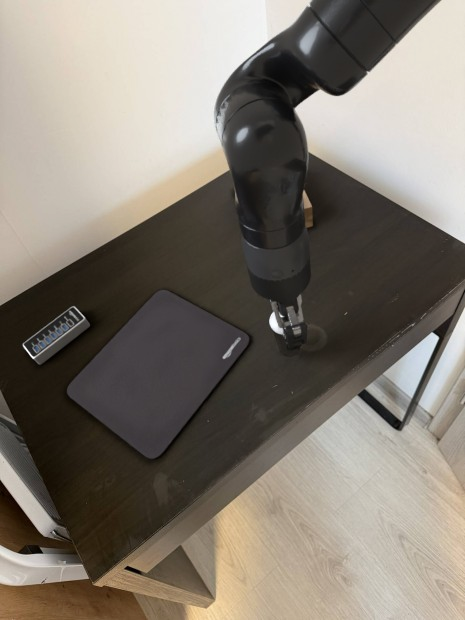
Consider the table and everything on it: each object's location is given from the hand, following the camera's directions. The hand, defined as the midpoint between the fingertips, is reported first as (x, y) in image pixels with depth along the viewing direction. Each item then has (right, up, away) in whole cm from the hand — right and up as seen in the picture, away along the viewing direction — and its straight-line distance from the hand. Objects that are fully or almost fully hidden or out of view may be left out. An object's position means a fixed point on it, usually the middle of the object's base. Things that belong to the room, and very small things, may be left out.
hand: (288, 330), depth 69 cm
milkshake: (+1, -3, +4) cm, 6 cm away
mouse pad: (-20, -6, +9) cm, 23 cm away
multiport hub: (-39, -2, +16) cm, 42 cm away
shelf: (0, +24, +26) cm, 35 cm away
